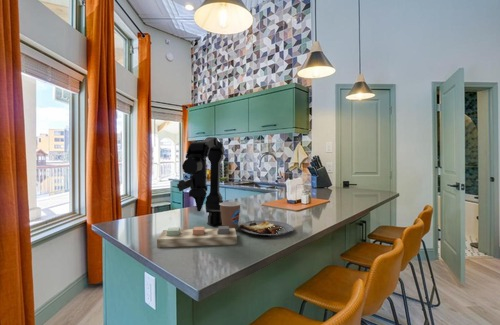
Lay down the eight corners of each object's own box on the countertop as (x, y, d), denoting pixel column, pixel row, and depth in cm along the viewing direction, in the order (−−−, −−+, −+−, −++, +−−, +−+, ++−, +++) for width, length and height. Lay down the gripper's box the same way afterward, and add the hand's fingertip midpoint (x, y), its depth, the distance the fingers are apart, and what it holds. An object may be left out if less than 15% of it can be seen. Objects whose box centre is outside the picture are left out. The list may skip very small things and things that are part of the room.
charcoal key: (228, 234, 106) (228, 226, 106) (229, 237, 101) (229, 228, 101) (218, 234, 105) (218, 226, 105) (218, 237, 101) (218, 229, 101)
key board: (234, 234, 110) (234, 228, 110) (236, 244, 98) (236, 236, 98) (163, 237, 106) (163, 230, 106) (156, 247, 94) (156, 239, 94)
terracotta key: (204, 235, 105) (204, 226, 104) (204, 238, 100) (204, 229, 100) (193, 235, 104) (193, 227, 104) (192, 238, 100) (192, 230, 100)
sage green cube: (179, 235, 103) (179, 227, 103) (178, 239, 99) (178, 230, 99) (168, 236, 103) (168, 227, 103) (166, 239, 98) (166, 230, 98)
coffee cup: (234, 232, 113) (234, 206, 113) (214, 229, 117) (215, 204, 117) (244, 227, 122) (244, 202, 122) (226, 224, 127) (226, 201, 126)
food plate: (264, 242, 100) (264, 233, 100) (229, 230, 117) (229, 222, 117) (302, 232, 117) (302, 224, 117) (266, 223, 134) (266, 216, 134)
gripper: (181, 171, 110) (181, 207, 110) (174, 174, 91) (174, 217, 92) (207, 171, 111) (207, 206, 112) (205, 174, 93) (205, 216, 93)
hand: (198, 211), depth 102 cm, fingers closed
